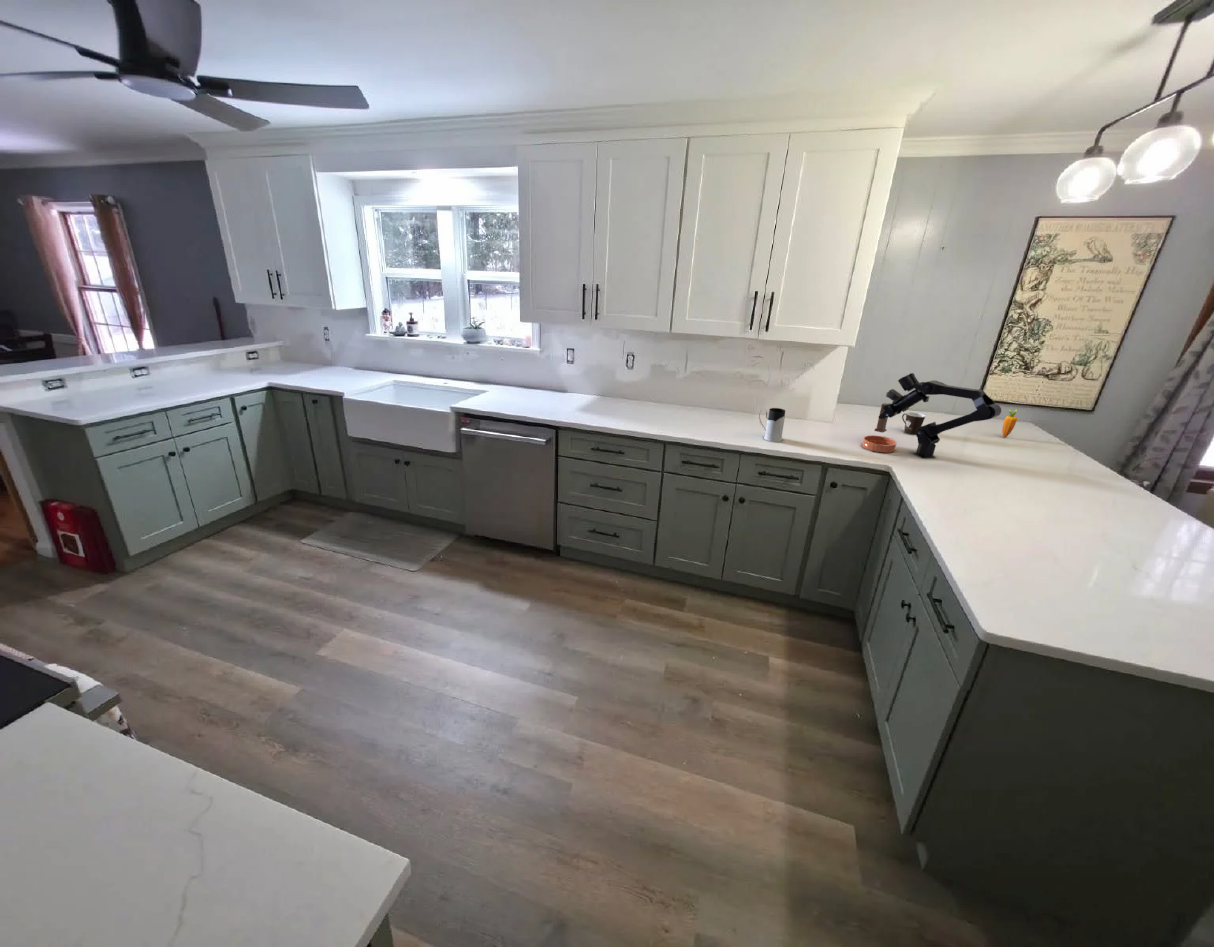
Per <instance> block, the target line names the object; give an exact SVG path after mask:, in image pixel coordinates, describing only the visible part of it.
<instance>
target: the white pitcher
mask: <svg viewBox="0 0 1214 947" xmlns="http://www.w3.org/2000/svg"><path fill="white" fill-rule="evenodd" d="M761 411H765V419H767V420H766V426H764V424H763V423H762V419H761ZM785 416H786V409H783V408H780V407H771V408H769V410H768V411H767V410H766V409H765V408H761V409H760V410H759V411H758V420H759V424H760V425H761V426H762V428H763V429H764V431H765V434H764V437H763V439H764V440H765V441H767V442H772V443H780V442H782V441H783V438H782V437H783V431H784V425H785V419H786V417H785Z"/></svg>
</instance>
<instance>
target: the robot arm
mask: <svg viewBox="0 0 1214 947" xmlns="http://www.w3.org/2000/svg"><path fill="white" fill-rule="evenodd" d="M897 382H898V384H899V385H900V386H901V388H902V390H903V391H904V392H908V393H907V394H904V395H902V394H901V393H900V392H899V391H897V390H896V389H894V388H892V389H889V390H888V391H887V392H886V393H885V397H886V398H888V399H889V400H891V403H887V404H886V405H885V406H883V409H884V410H885V411H884V412H883V413H882V414H881V415H880V414H879V415H880V416H879V415H878V419H881V418H887V417H888V418H890V419H892V418H894V417H895V416H898V415H900V414H901V413H905V412H907V411H908V410H910V407H913V406H915V405H916V404H918V403H919V402H921V401H922V402H923V403H928V402H929V399H930V396H936V395H944V396H949V397H958V398H963V399H968V400H969V399H970V400H971V401H972V402H973V404H974V407H975V409H976V410H974V411H972V412H971V413H969V414H965V415H962V416H960V417H956V418H953V419H951V420H948V421H945V422H942V423H937V422H936V421H933V422H930V423H927V424H924V425H922V426H921V427H920V428H919V429H918V430H917V432H916V435H915V436H916V438H917V448H916V451H915V452H913V454H914V455H915V456H918V457H919V458H921V459H935V458H936V456H935V455H934V453H935V449H936V447H937V444H938V443H939V442H940V440H941V438H940V436H939V435H940V434H942V433H944V432H946V431H949V430H952V429H955V428H958V427H961V426H965V425H968V424H971V423H973V422H981V421H987V420H988V421H989V420H991V419H994V418H997V417H999V416H1000V415H1001V413H1002V407H1001V406H1000V405H999V404H998V403H996V402H995V401H994V399H992V398H991V397H990V396H989V395H988V394H987V393H986V392H985V391H984V390H983V389H980V388H979V389H976V388H970V387H962V386H956V385H955V386H954V385H950V384H949V385H948V384H946V383H944V382H942V381H938V380H934V379H933V380H929V381H921V382H920V381H919V380H918V379H917V377H916V375H915V373H913V372H910V373H909V374H907V375H905V376H902V377H901V378H899V379H898V380H897Z"/></svg>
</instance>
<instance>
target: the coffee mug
mask: <svg viewBox="0 0 1214 947" xmlns="http://www.w3.org/2000/svg"><path fill="white" fill-rule="evenodd" d="M926 416H927V415H926V414H924V413H921V412H913V411H909V412H906V413H903V414H902V415H901V419H902V421H903V423H904V428H903V429H904V430H903V432H904V434H906V435H910V436H916V432H917V430H918V429H919V428H920V427H921V426H923V423H924V422H925V419H926ZM904 417H905V419H904Z"/></svg>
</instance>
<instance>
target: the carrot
mask: <svg viewBox="0 0 1214 947" xmlns="http://www.w3.org/2000/svg"><path fill="white" fill-rule="evenodd" d="M1008 412H1009V415H1007V416H1006V417H1004V420H1003V423H1002V430H1001V431H1002V432H1001V433H1002V437H1003V438H1004V439H1006V438H1007V437H1008V436H1009V435H1010V434H1011V433H1012V431H1013V430H1014V428H1015V426H1016V423H1017V421H1018V418H1017V416H1015V415H1016V414H1017V412H1018V409H1015V410H1014V411H1013V412H1012V410H1011V409H1009V410H1008Z"/></svg>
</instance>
